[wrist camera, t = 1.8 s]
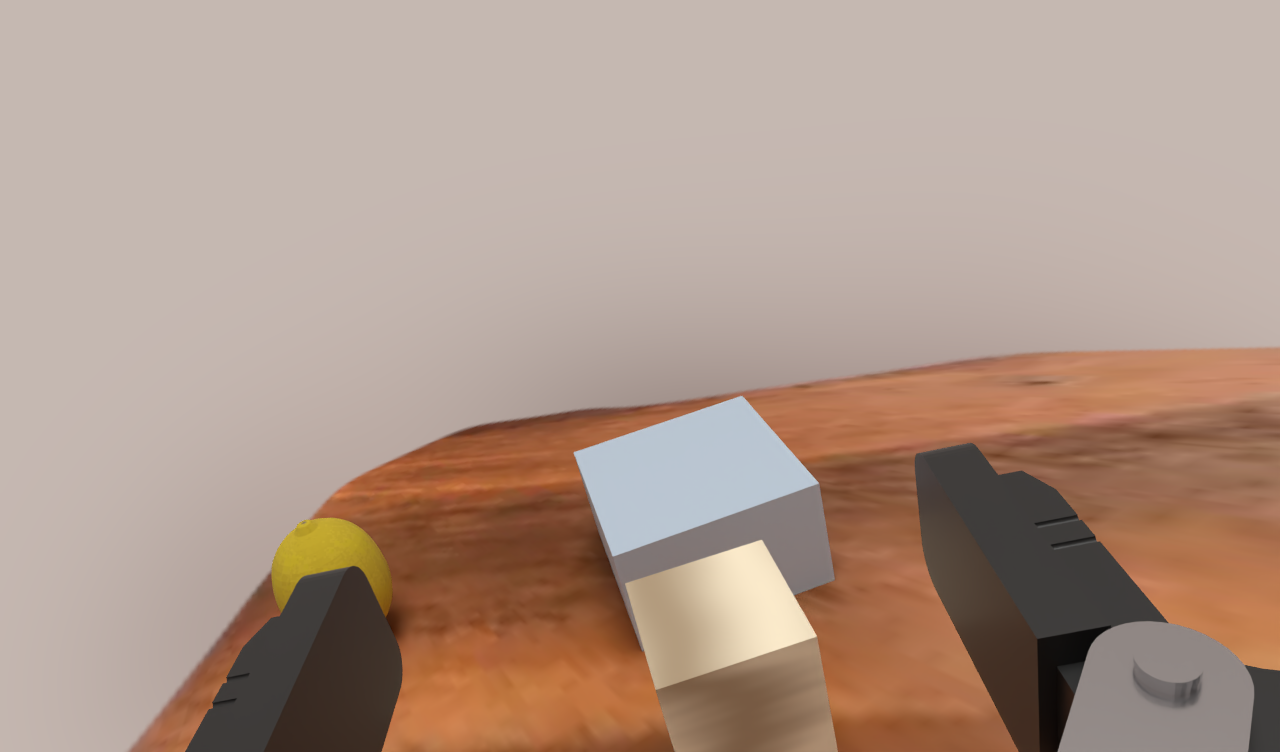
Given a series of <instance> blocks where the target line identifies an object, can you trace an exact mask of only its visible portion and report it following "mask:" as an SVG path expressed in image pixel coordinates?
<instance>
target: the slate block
mask: <svg viewBox="0 0 1280 752" xmlns="http://www.w3.org/2000/svg"><path fill="white" fill-rule="evenodd" d="M574 455H575V458H576V461H577V465H578V468H579V471H580V474H581V477H582V480H583V484H584V487H585V490H586V493H587V496H588V499H589V503H590V506H591V509H592V512H593V515H594V519H595V522H596V525H597V528H598V531H599V534H600V537H601V540H602V543H603V545H604V548H605V551H606V554H607V556H608V559H609V562H610V565H611V567H612V570H613V573H614V576H615V578H616V581H617V584H618V587H619V589H620V592H621V595H622V597H623V600H624V603H625V606H626V608H627V611H628V614H629V617H630V619H631V622H632V625H633V628H634V630H635V633H636V636H637V639H638V641H639V644H640V647H641V649H642V651H644V648H643V644H642V641H641V637H640V634H639V630H638V627H637V623H636V620H635V616H634V613H633V609H632V606H631V602H630V599H629V595H628V592H627V589H626V585H625V583H628V582H631V581H634V580H637V579H640V578H644V577H647V576H650V575H653V574H656V573H659V572H662V571H665V570H669V569H672V568H675V567H678V566H681V565H684V564H687V563H690V562H694V561H697V560H700V559H703V558H706V557H709V556H712V555H715V554H718V553H722V552H725V551H728V550H731V549H734V548H737V547H740V546H743V545H747V544H750V543H753V542H756V541H759V540H762V541H763V542H764V544H765V546H766V548H767V549H768V551H769V553H770V555H771V556H772V558H773V560H774V562H775V563H776V565H777V567H778V569H779V570H780V572H781V574H782V576H783V578H784V579H785V581H786V583H787V585H788V586H789V588H790V590H791V592H792V593H793V595H796V594H799V593H801V592H804V591H807V590H809V589H812V588H815V587H817V586H820V585H823V584H826V583H828V582H831V581H834V580H835V577H834V571H833V565H832V559H831V553H830V547H829V541H828V535H827V529H826V523H825V517H824V511H823V505H822V499H821V492H820V486H819V483H818V482H817V481H816V479H815V478H814V477H813V476H812V475H811V474H810V473H809V471H808V470H807V469H806V468H805V467H804V466H803V465H802V463H801V462H800V461H799V460H798V459H797V458H796V457H795V456H794V454H793V453H792V452H791V451H790V450H789V449H788V448H787V446H786V445H785V444H784V443H783V442H782V441H781V440H780V438H779V437H778V436H777V435H776V434H775V433H774V432H773V430H772V429H771V428H770V427H769V426H768V425H767V424H766V422H765V421H764V420H763V419H762V418H761V417H760V416H759V414H758V413H757V412H756V411H755V410H754V409H753V408H752V407H751V405H750V404H749V403H748V402H747V401H746V400H745V399H744V397H743V396H740V397H737V398H734V399H731V400H728V401H725V402H722V403H719V404H716V405H713V406H710V407H707V408H704V409H701V410H698V411H696V412H693V413H690V414H687V415H684V416H681V417H678V418H675V419H672V420H669V421H666V422H663V423H660V424H657V425H654V426H651V427H648V428H645V429H642V430H639V431H636V432H633V433H630V434H627V435H624V436H621V437H618V438H615V439H612V440H609V441H606V442H603V443H600V444H597V445H594V446H591V447H589V448H586V449H583V450H580V451H577V452H574Z"/></svg>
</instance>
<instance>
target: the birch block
mask: <svg viewBox="0 0 1280 752" xmlns="http://www.w3.org/2000/svg"><path fill="white" fill-rule="evenodd" d="M625 585H626V589H627V592H628V595H629V599H630V602H631V606H632V609H633V613H634V616H635V620H636V623H637V627H638V630H639V634H640V637H641V641H642V644H643V648H644V651H645V655H646V658H647V662H648V665H649V668H650V672H651V675H652V679H653V682H654V686H655V689H656V693H657V696H658V699H659V702H660V706H661V709H662V712H663V715H664V719H665V722H666V725H667V729H668V732H669V735H670V738H671V742H672V745H673V748H674V751H675V752H838V750H837V745H836V739H835V733H834V728H833V722H832V717H831V711H830V706H829V700H828V695H827V689H826V684H825V678H824V673H823V667H822V662H821V656H820V651H819V645H818V640H817V636H816V634H815V632H814V630H813V629H812V627H811V625H810V623H809V622H808V620H807V618H806V616H805V615H804V613H803V611H802V609H801V608H800V606H799V604H798V602H797V600H796V599H795V597H794V595H793V593H792V592H791V590H790V588H789V586H788V585H787V583H786V581H785V579H784V578H783V576H782V574H781V572H780V570H779V569H778V567H777V565H776V563H775V562H774V560H773V558H772V556H771V555H770V553H769V551H768V549H767V548H766V546H765V544H764V542H763V541H762V540H759V541H756V542H753V543H750V544H747V545H743V546H740V547H737V548H734V549H731V550H728V551H725V552H722V553H718V554H715V555H712V556H709V557H706V558H703V559H700V560H697V561H694V562H690V563H687V564H684V565H681V566H678V567H675V568H672V569H669V570H665V571H662V572H659V573H656V574H653V575H650V576H647V577H644V578H640V579H637V580H634V581H631V582H628V583H625Z"/></svg>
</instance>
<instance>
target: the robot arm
mask: <svg viewBox="0 0 1280 752" xmlns="http://www.w3.org/2000/svg"><path fill="white" fill-rule="evenodd" d="M915 474H916V485H917V495H918V505H919V516H920V526H921V537H922V546H923V551H924V556H925V560H926V564H927V567H928V571H929V574H930V577H931V579H932V582H933V584H934V587H935V589H936V591H937V593H938V595H939V597H940V599H941V601H942V603H943V605H944V607H945V608H946V610H947V612H948V614H949V616H950V618H951V620H952V622H953V624H954V626H955V628H956V630H957V632H958V634H959V636H960V638H961V640H962V642H963V644H964V646H965V647H966V649H967V651H968V653H969V655H970V657H971V659H972V661H973V663H974V665H975V667H976V669H977V671H978V673H979V675H980V677H981V679H982V681H983V683H984V685H985V686H986V688H987V690H988V692H989V694H990V696H991V698H992V700H993V702H994V704H995V706H996V708H997V710H998V712H999V714H1000V716H1001V718H1002V720H1003V722H1004V724H1005V725H1006V727H1007V729H1008V731H1009V733H1010V735H1011V737H1012V739H1013V741H1014V743H1015V745H1016V747H1017V749H1018V751H1019V752H1280V671H1278V670H1269V669H1261V668H1256V667H1252V666H1247V665H1244V664H1243V663H1242V662H1241V661H1240V660H1239V658H1238V657H1237V656H1236V655H1235V654H1233V653H1232V652H1231V651H1230V650H1229V649H1228V648H1226V647H1225V646H1223V645H1222V644H1220V643H1219V642H1218V641H1216V640H1214V639H1212V638H1210V637H1208V636H1207V635H1205V634H1202V633H1200V632H1197V631H1195V630H1192V629H1190V628H1186V627H1183V626H1179V625H1175V624H1170V623H1168V622H1167V621H1166V619H1165V618H1164V617H1163V616H1162V615H1161V613H1160V612H1159V611H1158V610H1157V609H1156V607H1155V606H1154V605H1153V604H1152V603H1151V602H1150V600H1149V599H1148V598H1147V597H1146V596H1145V594H1144V593H1143V592H1142V591H1141V590H1140V589H1139V587H1138V586H1137V585H1136V584H1135V583H1134V581H1133V580H1132V579H1131V578H1130V577H1129V575H1128V574H1127V573H1126V572H1125V571H1124V570H1123V568H1122V567H1121V566H1120V565H1119V564H1118V562H1117V561H1116V560H1115V559H1114V558H1113V556H1112V555H1111V554H1110V553H1109V552H1108V551H1107V549H1106V548H1105V547H1104V546H1103V545H1102V543H1101V542H1097V541H1096V538H1095V535H1094V534H1093V533H1092V532H1091V530H1090V529H1089V528H1088V527H1087V526H1086V524H1085V523H1084V522H1083V521H1082V520H1079V519H1078V516H1077V514H1076V513H1075V511H1074V510H1073V509H1072V508H1071V507H1070V505H1069V504H1068V503H1067V502H1066V501H1065V500H1064V498H1063V497H1062V496H1061V495H1060V494H1059V492H1058V491H1057V490H1056V489H1054V488H1053V487H1051V486H1049V485H1047V484H1045V483H1043V482H1042V481H1040V480H1038V479H1036V478H1034V477H1032V476H1031V475H1029V474H1027V473H1025V472H1023V471H1017V472H1012V473H1007V474H1002V475H998V474H997V473H996V472H995V470H994V469H993V468H992V466H991V465H990V464H989V462H988V461H987V460H986V458H985V457H984V456H983V454H982V453H981V452H980V450H979V449H978V448H977V447H976V446H975V445H974V444H973V443H967V444H962V445H957V446H952V447H947V448H942V449H937V450H932V451H928V452H923V453H918V454H916V457H915ZM226 678H227V683H224V684H222V686H221V688H220V690H219V692H218V693H217V695H216V697H215V699H214V701H213V702H212V703H213V709H209V710H208V712H207V713H206V715H205V717H204V719H203V721H202V722H201V724H200V726H199V728H198V730H197V731H196V733H195V735H194V737H193V739H192V740H191V742H190V744H189V746H188V748H187V749H186V751H185V752H381V751H382V748H383V745H384V741H385V738H386V735H387V731H388V728H389V725H390V722H391V718H392V715H393V712H394V708H395V705H396V702H397V698H398V695H399V692H400V688H401V683H402V659H401V653H400V649H399V646H398V643H397V641H396V639H395V636H394V634H393V632H392V630H391V628H390V626H389V624H388V621H387V619H386V617H385V615H384V613H383V611H382V609H381V607H380V604H379V602H378V600H377V598H376V596H375V594H374V592H373V589H372V587H371V585H370V583H369V581H368V579H367V577H366V575H365V573H364V572H363V571H362V570H361V569H360V568H359V567H357V566H350V567H345V568H340V569H335V570H330V571H325V572H320V573H316V574H311V575H306V576H303V577H302V578H301V579H300V580H299V581H298V583H297V584H296V586H295V588H294V590H293V592H292V594H291V596H290V598H289V600H288V602H287V603H286V605H285V607H284V609H283V611H282V613H281V615H280V616H278V617H273V618H271V619H270V620H269V621H268V622H267V623H266V624H265V625H264V626H263V627H262V628H261V629H260V630H259V631H258V632H257V633H256V634H255V635H254V636H253V637H252V638H251V639H250V641H249V642H248V643H247V644H246V645H245V646H244V647H243V648H242V650H241V652H240V654H239V655H238V657H237V659H236V661H235V663H234V665H233V666H232V668H231V670H230V672H229V674H228V675H227V677H226Z"/></svg>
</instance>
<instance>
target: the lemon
mask: <svg viewBox="0 0 1280 752" xmlns="http://www.w3.org/2000/svg"><path fill="white" fill-rule="evenodd" d="M350 566H357V567H359V568H360V569H361V570H362V571H363V572H364V573H365V575H366V577H367V579H368V581H369V583H370V585H371V587H372V589H373V592H374V594H375V596H376V598H377V600H378V602H379V604H380V607H381V609H382V611H383V613H384V615H385V617H386V616H387V614H388V611H389V608H390V605H391V601H392V578H391V574H390V570H389V567H388V564H387V562H386V560H385V558H384V556H383V554H382V553H381V551H380V549H379V548H378V546H377V545H376V543H375V542H374V541H373V540H372V539H371V537H370V536H369V535H368V534H367V533H366V532H365V531H364V530H362V529H361V528H360V527H358V526H356V525H355V524H353V523H351V522H349V521H346V520H342V519H337V518H319V519H314V520H304V521H302V522H300V523H299V524H298V525H297V527H296V528H295V529H294V530H293V531H291V532H290V533H289V535H287V536H286V538H285V539H284V540H283V541H282V543H281V544H280V546H279V548H278V549H277V552H276V554H275V557H274V560H273V564H272V585H273V591H274V595H275V599H276V602H277V605H278V607H279V609H280V611H281V613H282V611H283V609H284V607H285V605H286V603H287V602H288V600H289V598H290V596H291V594H292V592H293V590H294V588H295V586H296V584H297V583H298V581H299V580H300V579H301V578H302V577H303V576H306V575H311V574H316V573H320V572H325V571H330V570H335V569H340V568H345V567H350Z"/></svg>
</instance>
